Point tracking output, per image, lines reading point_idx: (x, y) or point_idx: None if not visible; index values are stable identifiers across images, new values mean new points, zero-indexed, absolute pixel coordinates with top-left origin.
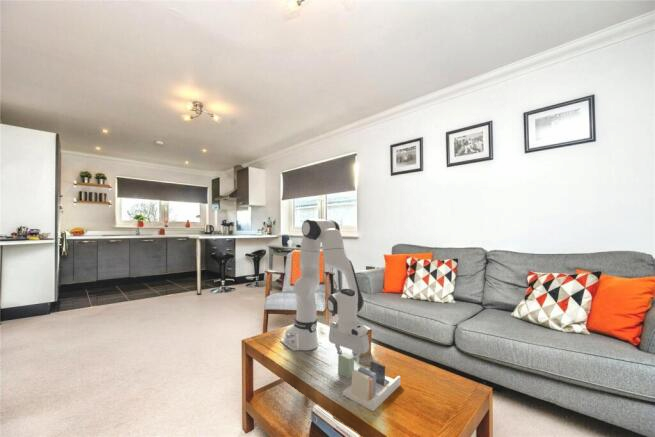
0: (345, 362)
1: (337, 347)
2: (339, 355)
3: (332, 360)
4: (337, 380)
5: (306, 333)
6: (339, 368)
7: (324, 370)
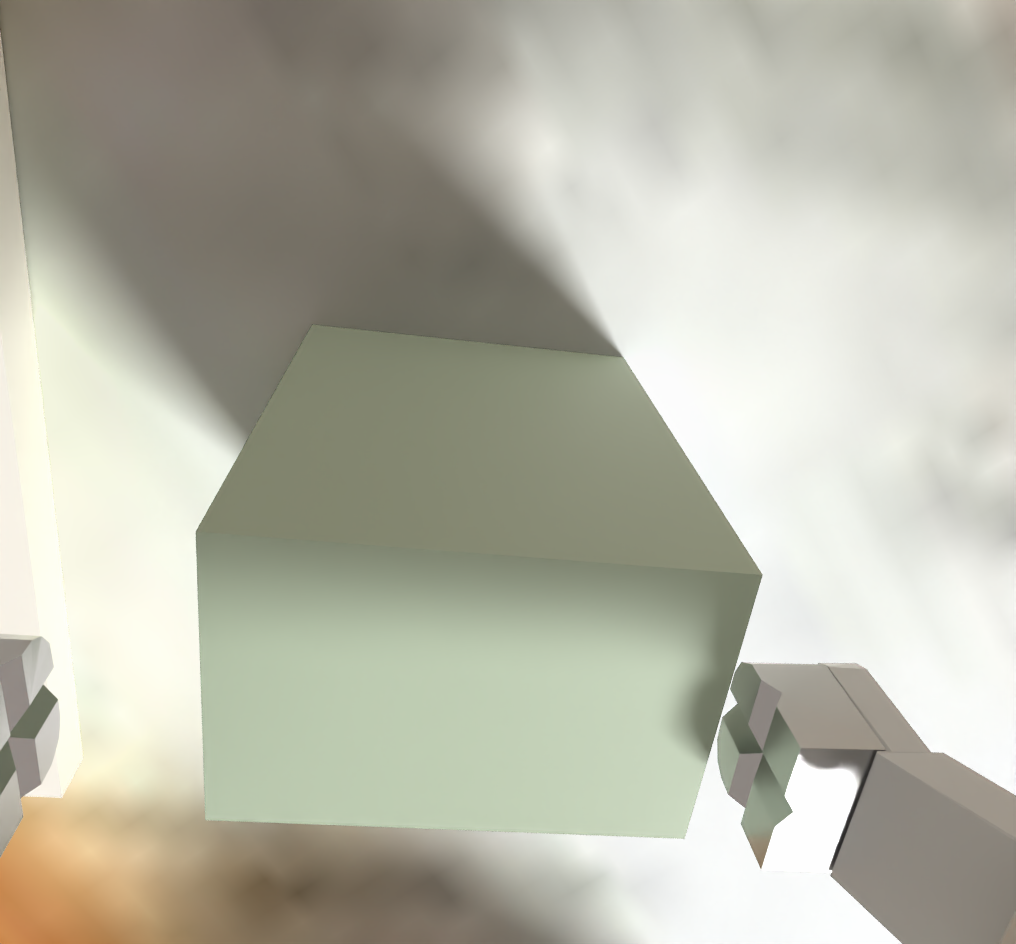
0: (398, 471)
1: (999, 867)
2: (716, 583)
3: (934, 676)
4: (473, 65)
5: None
6: (604, 393)
7: (949, 260)
